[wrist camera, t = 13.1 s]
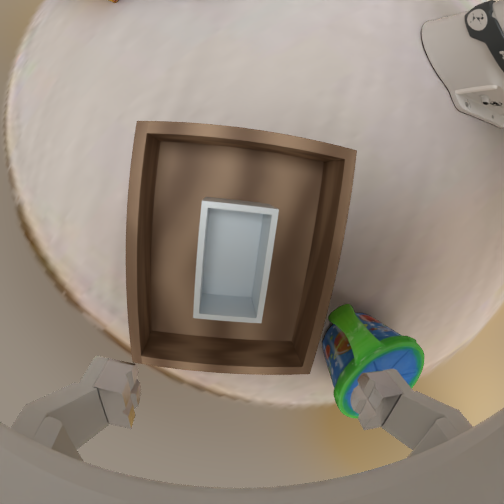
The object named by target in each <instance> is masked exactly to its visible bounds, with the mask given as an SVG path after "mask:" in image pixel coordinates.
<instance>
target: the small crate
mask: <svg viewBox="0 0 504 504" xmlns="http://www.w3.org/2000/svg"><path fill="white" fill-rule="evenodd" d="M278 213H279V209H277V208H275V207H274V206H272V205H270V204H266V203H258V202H250V201H241V200H232V199H223V198H213V197H205V198H204V199H203V200H202V205H201V214H200V225H199V236H198V248H197V260H196V275H195V291H194V310H193V318H198V319H208V320H220V321H232V322H247V323H262V317H263V311H264V305H265V298H266V292H267V286H268V280H269V273H270V267H271V260H272V254H273V247H274V240H275V234H276V227H277V220H278Z"/></svg>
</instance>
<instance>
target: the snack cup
mask: <svg viewBox="0 0 504 504" xmlns="http://www.w3.org/2000/svg"><path fill="white" fill-rule="evenodd" d="M328 320H329V321H330V322H332V323H333V325H332V326H331V327H330V329H329V330H328V331H327V333H326V335H325V338H324V340H323V351H324V356H325V359H326V362H327V365H328V369H329V372H330V375H331V379H332V382H333V386H334V397H335V401H336V404H337V406H338V408H339V409H340V411H341V412H342V413H343V414H344V415H346V416H348V417H351V418H358V417H359V414H358V413H356V412H355V411H354V410H353V408H352V406H351V394H352V392H353V389H354V388H355V387H357V386H358V385H359V384H358V381H357V380H358V378H359V376H360V375H361V374H362V373H366V372H374V371H383V370H387V369H395V370H397V371H398V372H399V374H400V375H401V376H402V377H403V379H404V380H405V381H406V382H407V383H408V385H409V386H410V387H411V388H412V387H413V386H414V385H415V383H416V382H417V380H418V378H419V376H420V374H421V372H422V369H423V366H424V353H423V350H422V349H421V347H420V346H419V345H418V344H417V343H416V340H415V339H413V338H411V337H408V336H401V335H400V334H398V333H396V332H395V331H394V330H392V329H390V328H388V327H387V326H386V325H384V324H382V323H381V322H379V321H377V320H376V319H374V318H373V317H371V316H369V315H367V314H364V313H355V312H354V310H353V307H352V306H351V305H350V304H345V305H342V306H340V307H338V308H337V309H336V310H334V311H333V312H332V313H331V314H330V315H329V317H328Z"/></svg>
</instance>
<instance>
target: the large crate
mask: <svg viewBox="0 0 504 504" xmlns="http://www.w3.org/2000/svg"><path fill="white" fill-rule="evenodd" d="M356 153H357V151H356V150H353V149H349V148H345V147H341V146H337V145H333V144H329V143H325V142H320V141H316V140H311V139H306V138H301V137H296V136H291V135H285V134H280V133H274V132H268V131H261V130H255V129H247V128H240V127H231V126H222V125H212V124H200V123H186V122H164V121H137V124H136V131H135V137H134V144H133V151H132V160H131V168H130V178H129V189H128V203H127V222H126V290H127V309H128V323H129V334H130V344H131V352H132V360H133V362H134V363H140V364H146V365H153V366H159V367H167V368H175V369H183V370H193V371H204V372H216V373H233V374H262V375H292V374H310V371H311V367H312V364H313V361H314V358H315V354H316V351H317V348H318V344H319V341H320V337H321V334H322V330H323V326H324V322H325V319H326V315H327V311H328V307H329V303H330V299H331V295H332V291H333V286H334V282H335V278H336V273H337V269H338V264H339V259H340V254H341V249H342V244H343V239H344V234H345V228H346V223H347V217H348V211H349V205H350V198H351V192H352V185H353V178H354V170H355V162H356ZM205 197H213V198H223V199H232V200H241V201H250V202H258V203H266V204H270V205H272V206H274V207H275V208H277V209H279V213H278V220H277V227H276V234H275V240H274V247H273V254H272V260H271V267H270V273H269V280H268V286H267V292H266V298H265V305H264V311H263V317H262V323H247V322H232V321H220V320H208V319H198V318H193V310H194V291H195V275H196V260H197V248H198V236H199V225H200V214H201V205H202V200H203V199H204V198H205Z"/></svg>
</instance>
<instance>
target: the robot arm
mask: <svg viewBox="0 0 504 504" xmlns="http://www.w3.org/2000/svg"><path fill="white" fill-rule="evenodd" d="M422 41H423V45H424V48H425V51H426V53H427V56H428V58H429V60H430V62H431V64H432V66H433V67H434V69H435V71H436V72H437V74H438V76H439V77H440V78H441V80H442V81H443V83H444V84H445V85H446V87H447V88H448V90H449V92H450V95H451V97H452V100H453V102H454V104H455V106H456V108H457V109H458V110H459V111H461V112H464V113H466V114H469V115H471V116H474V117H476V118H479V119H481V120H484V121H486V122H488V123H490V124H493V125H495V126H497V127H499V128H504V0H499V1H497V2H496V1H493V0H490V1H487V2H484V3H482V4H479V5H477V6H475V7H474V8H473V9H471V10H470V11H466V12H463V13H459V14H456V15H453V16H449V17H448V16H445V17H442V18H441V19H437V20H430V21H427V22H425V23H424V25H423V27H422ZM138 373H139V372H138V366H137V365H136V364H133V363H128V362H124V361H119V360H115V359H109V358H105V357H101V356H96V357H95V358H94V359H93V361H92V362H91V364H90V366H89V367H88V369H87V371H86V372H85V374H84V376H83V377H82V379H81V381H80V382H79V383H77V382H75V383H73V384H71V385H68V386H66V387H64V388H62V389H60V390H57V391H55V392H53V393H51V394H48V395H46V396H44V397H42V398H39V399H37V400H35V401H33V402H30V403H28V404H26V405H25V406H24V408H23V409H22V411H21V412H20V414H19V415H18V417H17V419H16V420H15V422H14V423H13V425H12V426H11V428H10V427H8V426H6V425H5V424H3V423H1V422H0V504H504V408H503V409H501V410H500V411H498V412H497V413H495V414H494V415H492V416H491V417H489V418H487V419H486V420H484V421H483V422H481V423H480V424H478V425H476V426H474V427H472V425H471V424H470V423H469V422H468V421H467V419H466V418H465V417H464V416H463V415H462V414H461V412H460V411H459V410H457V409H455V408H453V407H450V406H448V405H446V404H444V403H441V402H439V401H437V400H435V399H433V398H430V397H428V396H426V395H424V394H422V393H420V392H418V391H415V392H414V391H413V390H412V388H411V387H410V386H409V385H408V383H407V382H406V381H405V380H404V379H403V377H402V376H401V375H400V374H399V372H398V371H397V370H395V369H387V370H383V371H374V372H366V373H362V374H361V375H360V376H359V378H358V380H357V381H358V384H359V385H358V386H357V387H355V388H354V389H353V392H352V394H351V406H352V408H353V410H354V411H355V412H356V413H358V414H359V417H358V420H359V422H360V424H361V425H362V427H363V429H364V430H368V429H373V428H377V427H382V428H383V429H384V430H386V431H387V432H388V433H390V434H391V435H392V436H394V437H395V438H396V439H398V440H399V441H401V442H402V443H403V444H405V445H406V446H408V447H409V448H411V449H412V450H413V451H412V452H411V453H410V455H409V456H408V457H407V458H406V459H403V460H400V461H398V462H395V463H392V464H388V465H385V466H382V467H379V468H376V469H372V470H368V471H365V472H361V473H357V474H353V475H349V476H345V477H340V478H335V479H330V480H324V481H318V482H312V483H305V484H297V485H289V486H277V487H262V488H261V487H259V488H219V487H202V486H191V485H182V484H174V483H167V482H161V481H155V480H150V479H145V478H140V477H135V476H131V475H127V474H122V473H119V472H115V471H111V470H108V469H104V468H101V467H98V466H95V465H91V464H89V463H86V462H84V461H83V459H82V458H81V456H80V455H79V453H78V451H77V449H78V448H80V447H81V446H82V445H83V444H85V443H86V442H87V441H89V440H90V439H91V438H93V437H94V436H95V435H96V434H98V433H99V432H100V431H102V430H103V429H104V428H106V427H107V426H108V424H111V425H116V426H120V427H125V428H132V425H133V421H134V418H135V411H134V409H135V408H136V407H137V406H138V405H139V401H140V395H141V386H140V382H139V381H138V379H137V376H138Z"/></svg>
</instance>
